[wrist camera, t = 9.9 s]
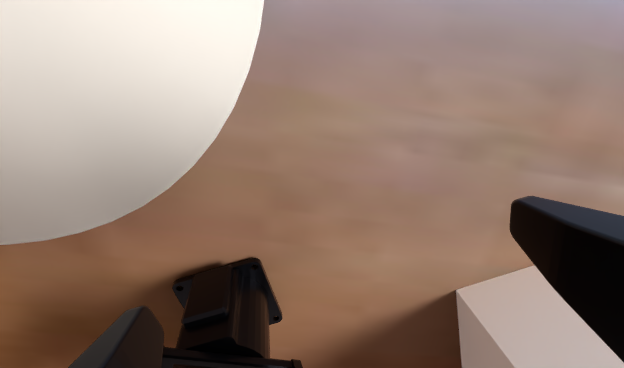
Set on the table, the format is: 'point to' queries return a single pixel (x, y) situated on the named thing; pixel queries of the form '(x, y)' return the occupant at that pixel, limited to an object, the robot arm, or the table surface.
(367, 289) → the table surface
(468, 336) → the milk
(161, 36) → the lid
